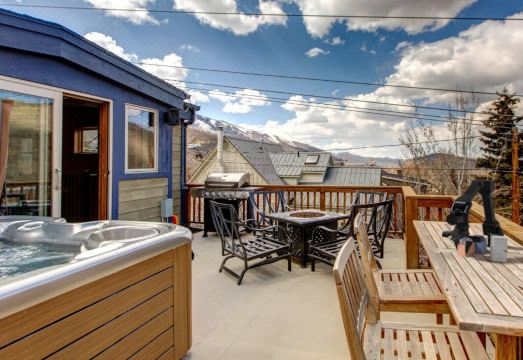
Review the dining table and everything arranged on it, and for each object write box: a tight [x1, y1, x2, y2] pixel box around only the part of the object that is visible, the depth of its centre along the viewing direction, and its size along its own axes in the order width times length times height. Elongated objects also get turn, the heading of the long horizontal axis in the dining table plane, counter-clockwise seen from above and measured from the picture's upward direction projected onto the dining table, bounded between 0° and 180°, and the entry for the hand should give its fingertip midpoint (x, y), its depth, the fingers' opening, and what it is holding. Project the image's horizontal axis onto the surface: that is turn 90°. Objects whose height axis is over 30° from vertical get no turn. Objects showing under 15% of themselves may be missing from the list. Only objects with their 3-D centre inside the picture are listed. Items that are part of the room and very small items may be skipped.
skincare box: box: [489, 235, 508, 263], centre depth 160 cm, size 6×4×12 cm
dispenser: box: [460, 237, 488, 255], centre depth 178 cm, size 7×10×8 cm
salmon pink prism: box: [457, 242, 477, 258], centre depth 173 cm, size 13×4×6 cm, turn 126°
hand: (462, 252), depth 170 cm, fingers closed on salmon pink prism, 3 cm apart
